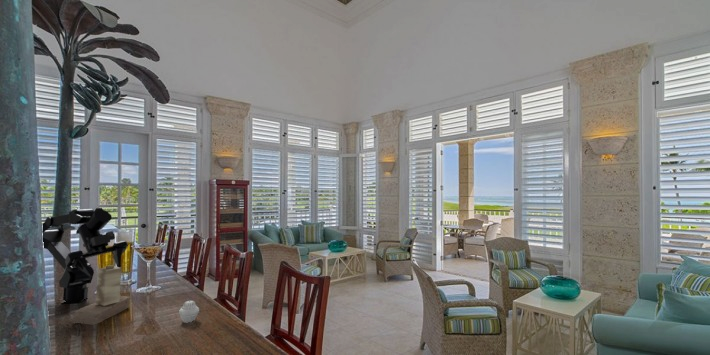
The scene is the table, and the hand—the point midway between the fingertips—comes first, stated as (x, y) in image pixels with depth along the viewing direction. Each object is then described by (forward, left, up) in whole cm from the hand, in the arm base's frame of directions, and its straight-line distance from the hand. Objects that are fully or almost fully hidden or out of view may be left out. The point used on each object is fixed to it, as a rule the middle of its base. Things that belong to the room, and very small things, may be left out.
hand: (106, 272), depth 126 cm
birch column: (+4, -7, -9) cm, 12 cm away
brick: (+3, -7, -14) cm, 16 cm away
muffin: (+33, -18, -13) cm, 39 cm away
